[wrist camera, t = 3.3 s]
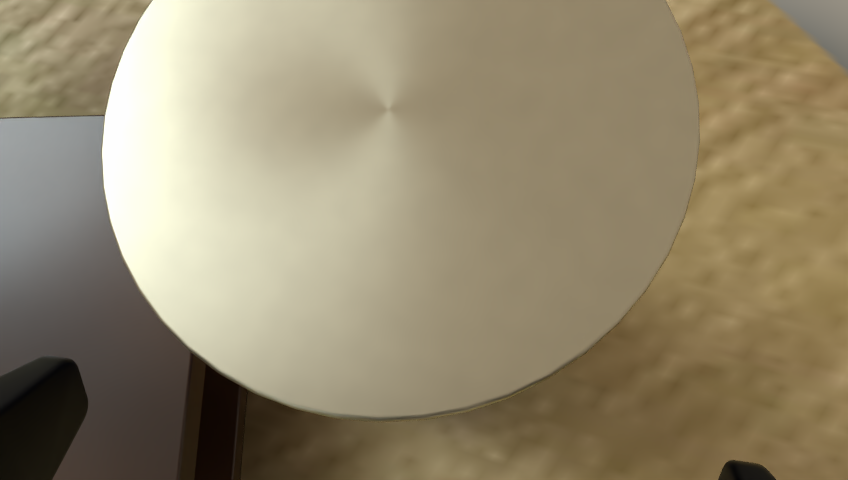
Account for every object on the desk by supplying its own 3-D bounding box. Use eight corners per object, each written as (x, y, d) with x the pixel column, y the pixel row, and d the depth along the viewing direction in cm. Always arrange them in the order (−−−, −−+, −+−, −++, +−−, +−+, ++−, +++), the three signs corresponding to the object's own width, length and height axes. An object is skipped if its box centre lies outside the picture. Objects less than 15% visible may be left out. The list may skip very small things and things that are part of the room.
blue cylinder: (548, 431, 18) (685, 473, 6) (327, 397, 19) (26, 370, 7) (580, 100, 21) (725, -375, 8) (383, 82, 22) (241, -375, 9)
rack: (226, 653, 18) (153, 721, 14) (-115, 635, 19) (-273, 693, 15) (267, 166, 21) (218, 111, 17) (-22, 171, 22) (-129, 119, 18)
